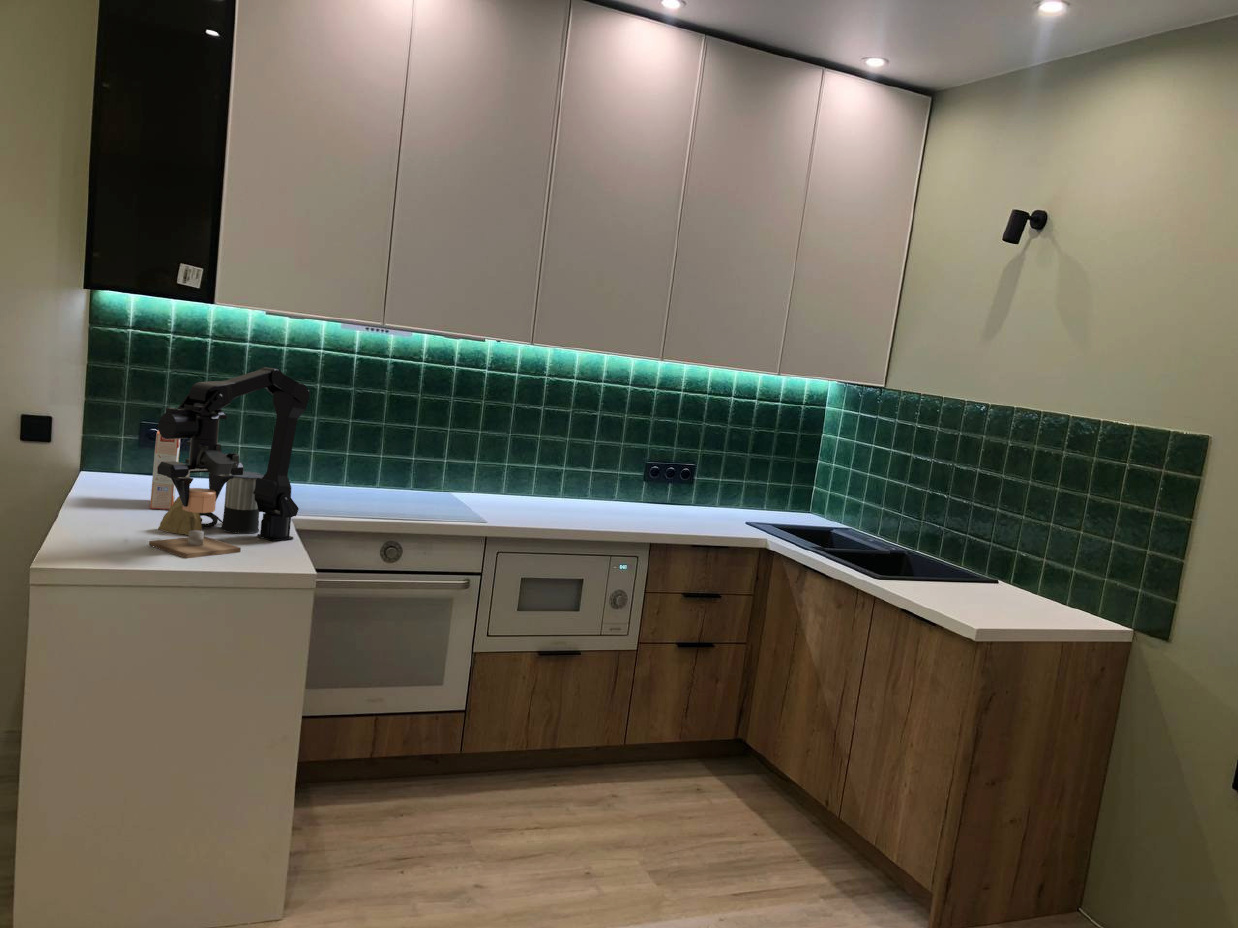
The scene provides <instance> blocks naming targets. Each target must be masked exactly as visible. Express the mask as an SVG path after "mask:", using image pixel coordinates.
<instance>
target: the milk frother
mask: <svg viewBox="0 0 1238 928" xmlns="http://www.w3.org/2000/svg"><path fill="white" fill-rule="evenodd" d="M264 475H265V474H263V473H260V472H259V473H258V472H254V471H248V470H247V471H245V470H244V471H243V475H231V476H234V478H233V479H230V480H229V481H227V482H226V483H225V492H224V493H225V497H224V508H223V516H222V520H221V518H219V516H217V514H214V512H209V513H199V514H200V516H201V524H202V529H210V528H213V527H215V526H217V524H218V521H219V522H220V523H221V527H220V529H221V530H222V531H224V532H227V533H231V534H239V535H240V534H242V535H244V534H247V535H248V534H255V533H256V534H257V533H258V532H259V531H260V528H259V525H260V519H259V518H260V512H259V511H258V506H257V502H256V501H255V494H253V492H254V490H255V486H256V479H257V478H262V477H263V476H264ZM202 516H204V517H207V518H209V519H211V520H212V521H210V522H209V523H203V518H202Z"/></svg>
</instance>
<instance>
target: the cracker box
mask: <svg viewBox="0 0 1238 928" xmlns="http://www.w3.org/2000/svg"><path fill="white" fill-rule="evenodd" d="M180 447H181V439H165V438H163V437H162V436H161V435H160V433H159V429H158V430H157V432H156V436H155V446H154V455H153V469H152V479H151V480H152V481H151V482H152V483H151V489H150V491H151V493H150V501H149V504H150V505H149V509H152V510H167V511H169V509H170V507H171V506H172V505H173V503H174V501H175V500H176V499H175V496H176V491H177V489H176V487H175V485H174V483H173V481H172V479H171V478H169V477H167V476H164V475H161V474H157V470H158V465H159V464H160V463H161V462H166V461H176V462H179V458H180V450H181V449H180Z"/></svg>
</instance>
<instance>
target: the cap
mask: <svg viewBox="0 0 1238 928" xmlns="http://www.w3.org/2000/svg"><path fill="white" fill-rule="evenodd" d="M216 505H217V500H216V491H214V490H211V489H209V488H203V487H202V488H201V487H197V488H196V487H191V488H190V489H189V501H188V506H187V507H185V506H183V507H182V510H185V511H188V512H196V513H209V512H211V513H214V512H215V511H216Z"/></svg>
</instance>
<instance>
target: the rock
mask: <svg viewBox="0 0 1238 928" xmlns="http://www.w3.org/2000/svg"><path fill="white" fill-rule="evenodd" d="M182 507H183V504H182V501H181V499H180V496H179V495H178V497H177V498H176V499H174V503H173V505H172V506H171V507H170V509H169V510H167V512H166V513H165V514H164V515H163V518H162V519H161V521H160V523H159V526H158V528H157V530H159V531H160V530H161V531H164V532H166V531H167V533H171V532H172V534H177V533H178V535H183V534H185V536H186V535H187V536H189V531H192V530H198V531H203V528H202V524H203V523H202V524H201V518H202V516H200V514H199V513H196V512H188V511H185V510H182Z"/></svg>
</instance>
